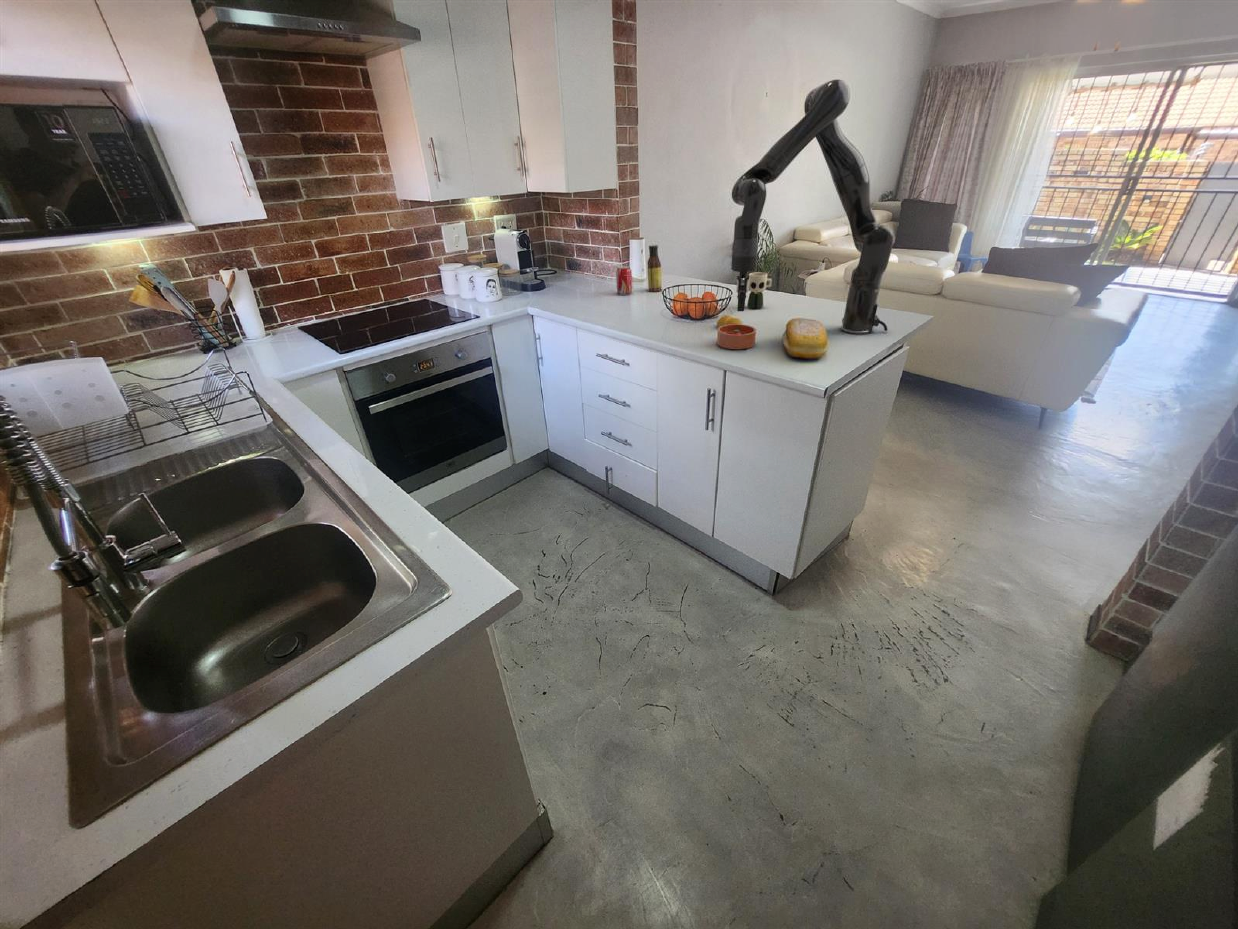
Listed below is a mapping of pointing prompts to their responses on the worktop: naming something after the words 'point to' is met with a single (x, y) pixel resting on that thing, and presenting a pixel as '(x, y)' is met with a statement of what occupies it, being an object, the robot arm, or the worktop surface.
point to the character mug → (757, 289)
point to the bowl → (736, 336)
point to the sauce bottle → (654, 270)
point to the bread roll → (728, 321)
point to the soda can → (624, 280)
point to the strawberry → (736, 332)
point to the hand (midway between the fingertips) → (741, 307)
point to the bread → (805, 338)
